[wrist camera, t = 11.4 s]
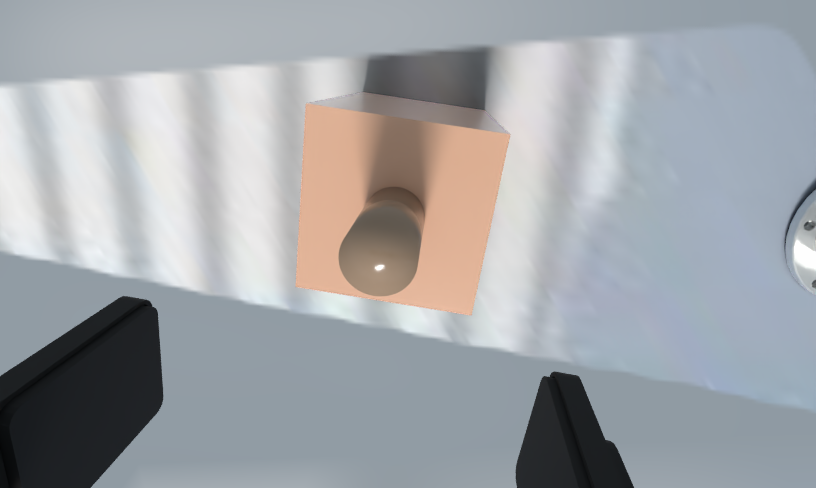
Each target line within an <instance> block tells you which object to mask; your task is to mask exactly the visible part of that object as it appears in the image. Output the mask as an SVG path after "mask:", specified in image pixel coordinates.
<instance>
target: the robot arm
mask: <svg viewBox="0 0 816 488" xmlns="http://www.w3.org/2000/svg"><path fill="white" fill-rule="evenodd" d="M785 253H786V260H787V264H788V267H789V269H790V271H791V274H792V275H793V277H794V278H795V279H796V280H797V282H798V283H799V284H800V285H801V286H803V287H804V288H805V289H806V290H808V291H809V292H811V293H813V294H814V295H816V189H815V190H814V191H813V192H812V193H811V194H810V195H809V196H808V197H807V198H806V200H805V201H804V202H803V204H802V205H801V206H800V208H799V209H798V210H797V212H796V214H795V216H794V218H793V220H792V222H791V224H790V227H789V230H788V234H787V237H786V247H785ZM162 402H163V384H162V369H161V354H160V339H159V326H158V312H157V310H156V308H154V307H152V304H151V303H150V301H148V300H144V299H139V298H133V297H127V296H123V297H120V298H118V299H117V300H115V301H114V302H113V303H111V304H109V305H108V306H106V307H105V308H103V309H102V310H100V311H99V312H97V313H96V314H94V315H93V316H91V317H90V318H88V319H87V320H85V321H84V322H82V323H81V324H79V325H77V326H76V327H74V328H73V329H71V330H70V331H68V332H67V333H65V334H64V335H62V336H61V337H59V338H58V339H56V340H55V341H53V342H52V343H50V344H48V345H47V346H45V347H44V348H42V349H41V350H39V351H38V352H36V353H35V354H33V355H32V356H30V357H29V358H27V359H26V360H24V361H23V362H21V363H20V364H18V365H17V366H15V367H13V368H12V369H10V370H9V371H7V372H6V373H4V374H3V375H1V376H0V488H91V487H92V485H93V484H94V483H95V482H96V481H97V480H98V479H99V477H100V476H101V475H102V474H103V473H104V472H105V471H106V470H107V469H108V467H109V466H110V465H111V464H112V463H113V462H114V461H115V460H116V458H117V457H118V456H119V455H120V454H121V453H122V452H123V451H124V449H125V448H126V447H127V446H128V445H129V444H130V443H131V442H132V441H133V439H134V438H135V437H136V436H137V435H138V434H139V433H140V431H141V430H142V429H143V428H144V427H145V426H146V425H147V424H148V423H149V421H150V420H151V419H152V418H153V417H154V416H155V415H156V414H157V412H158V411H159V409H160V407H161V405H162ZM516 483H517V488H634V486H633V484H632V482H631V480H630V477H629V475H628V473H627V470H626V468H625V466H624V463H623V461H622V459H621V456H620V454H619V453H618V450H617V448H616V446H615V445H614V443H612V442H611V441H608V440H605V438H604V436H603V433H602V431H601V428H600V426H599V423H598V421H597V418H596V416H595V414H594V411H593V409H592V406H591V404H590V401H589V399H588V397H587V394H586V392H585V389H584V387H583V384H582V382H581V380H580V378H579V376H576V375H571V374H565V373H560V372H552V373H551V375H550V377H546V376H544V377H543V378H542V380H541V382H540V386H539V389H538V393H537V396H536V399H535V403H534V406H533V410H532V413H531V416H530V420H529V424H528V427H527V430H526V434H525V437H524V440H523V444H522V447H521V450H520V454H519V457H518V461H517V465H516Z"/></svg>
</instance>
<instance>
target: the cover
mask: <svg viewBox="0 0 816 488" xmlns="http://www.w3.org/2000/svg"><path fill="white" fill-rule="evenodd" d="M509 138H510V134H509V133H508V132H507V131H506V130H505V129H504V128H503V127H502V126H501V125H500V124H499V123H498V122H497V121H496V120H495V119H494V118H492V117H491V116H490V115H489V114H488V113H487V112H486V111H485V110H480V109H473V108H467V107H460V106H453V105H447V104H440V103H433V102H427V101H420V100H413V99H407V98H400V97H393V96H387V95H380V94H373V93H367V92H360V93H355V94H350V95H345V96H340V97H335V98H330V99H325V100H320V101H315V102H310V103H306V110H305V128H304V146H303V164H302V182H301V200H300V218H299V236H298V254H297V272H296V287H300V288H306V289H312V290H318V291H324V292H331V293H337V294H343V295H349V296H355V297H361V298H367V299H374V300H380V301H386V302H392V303H398V304H404V305H411V306H417V307H423V308H429V309H435V310H441V311H447V312H454V313H460V314H466V315H472V310H473V306H474V301H475V296H476V292H477V287H478V283H479V278H480V273H481V269H482V264H483V259H484V255H485V250H486V245H487V241H488V236H489V231H490V227H491V222H492V217H493V213H494V208H495V203H496V199H497V194H498V189H499V185H500V180H501V175H502V171H503V166H504V161H505V157H506V152H507V147H508V143H509Z"/></svg>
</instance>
